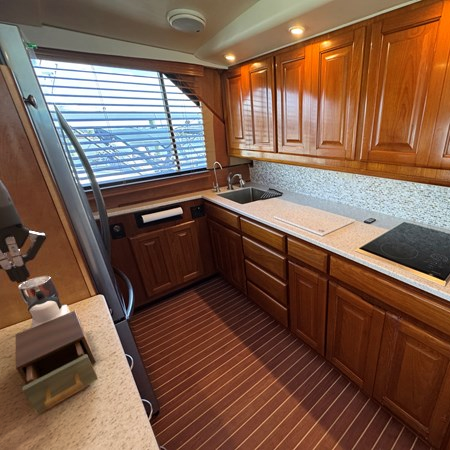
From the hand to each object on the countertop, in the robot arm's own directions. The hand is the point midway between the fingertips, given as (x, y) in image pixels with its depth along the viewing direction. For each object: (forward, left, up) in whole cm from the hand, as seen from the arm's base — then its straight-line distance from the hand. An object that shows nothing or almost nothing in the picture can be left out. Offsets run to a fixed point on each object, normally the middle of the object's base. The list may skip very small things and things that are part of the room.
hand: (22, 280), depth 52 cm
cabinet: (-1, 0, -25) cm, 25 cm away
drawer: (+7, -6, -24) cm, 26 cm away
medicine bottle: (-10, +9, -25) cm, 29 cm away
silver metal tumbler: (-17, +14, -25) cm, 33 cm away
